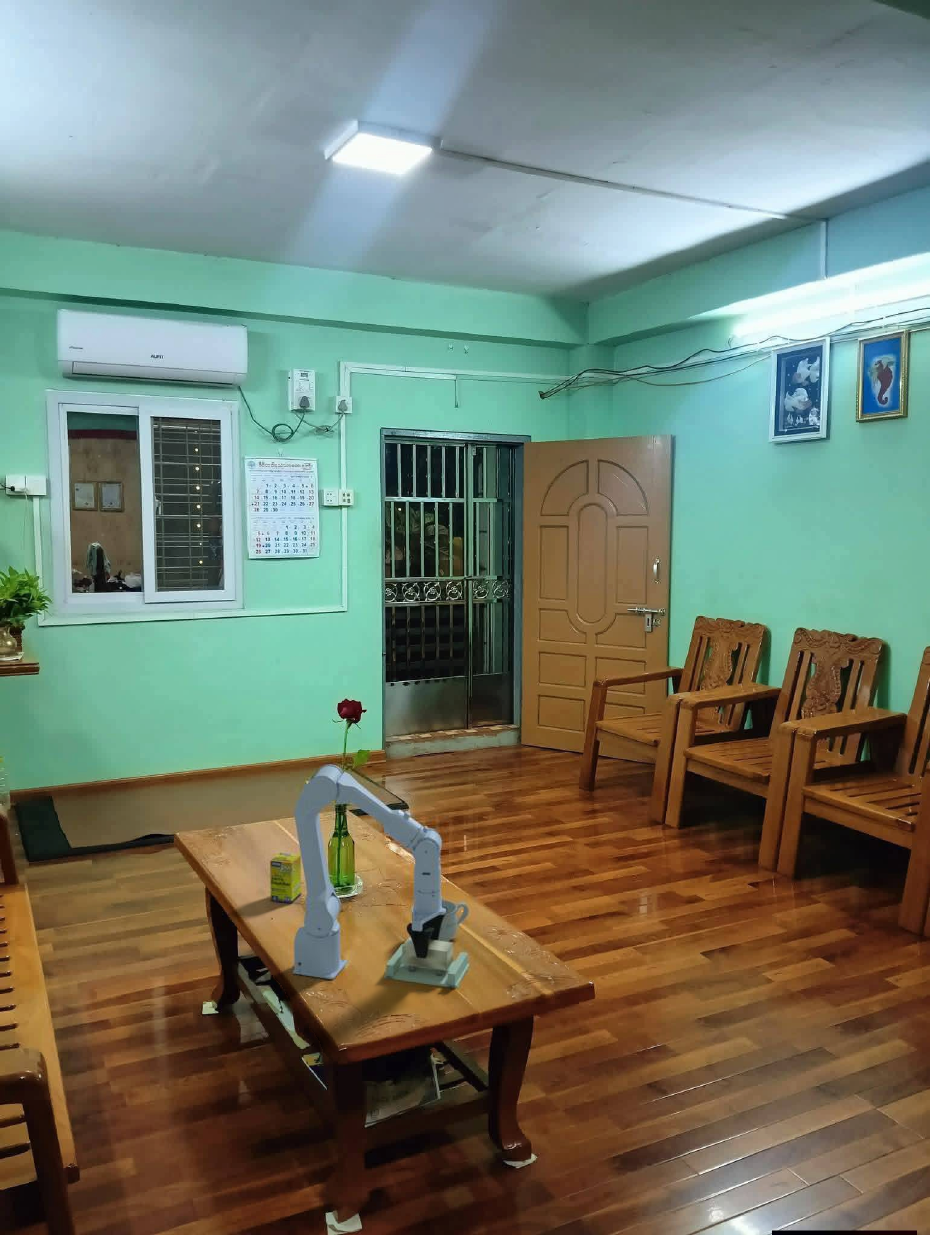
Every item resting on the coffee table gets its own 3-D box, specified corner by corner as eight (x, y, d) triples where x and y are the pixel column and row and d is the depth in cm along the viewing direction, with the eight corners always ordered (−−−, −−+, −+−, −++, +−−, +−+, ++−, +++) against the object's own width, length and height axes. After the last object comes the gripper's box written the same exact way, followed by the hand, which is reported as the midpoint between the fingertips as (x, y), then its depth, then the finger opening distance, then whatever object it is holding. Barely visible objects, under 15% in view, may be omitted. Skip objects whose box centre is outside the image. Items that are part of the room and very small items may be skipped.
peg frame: (384, 977, 198) (384, 964, 198) (400, 956, 208) (400, 943, 208) (456, 988, 194) (456, 974, 194) (469, 966, 204) (469, 953, 203)
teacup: (416, 953, 210) (416, 918, 209) (406, 932, 220) (406, 899, 219) (476, 945, 214) (476, 912, 213) (463, 925, 224) (463, 893, 223)
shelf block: (402, 964, 200) (402, 945, 200) (409, 955, 204) (409, 936, 204) (447, 970, 197) (447, 951, 197) (453, 961, 202) (453, 942, 201)
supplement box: (270, 902, 238) (269, 860, 236) (280, 892, 243) (279, 852, 242) (292, 904, 236) (291, 862, 235) (301, 895, 242) (300, 854, 241)
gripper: (435, 903, 191) (434, 967, 193) (455, 877, 205) (454, 937, 206) (402, 899, 193) (402, 962, 194) (424, 874, 207) (424, 933, 208)
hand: (427, 949), depth 201 cm, fingers open, 7 cm apart
